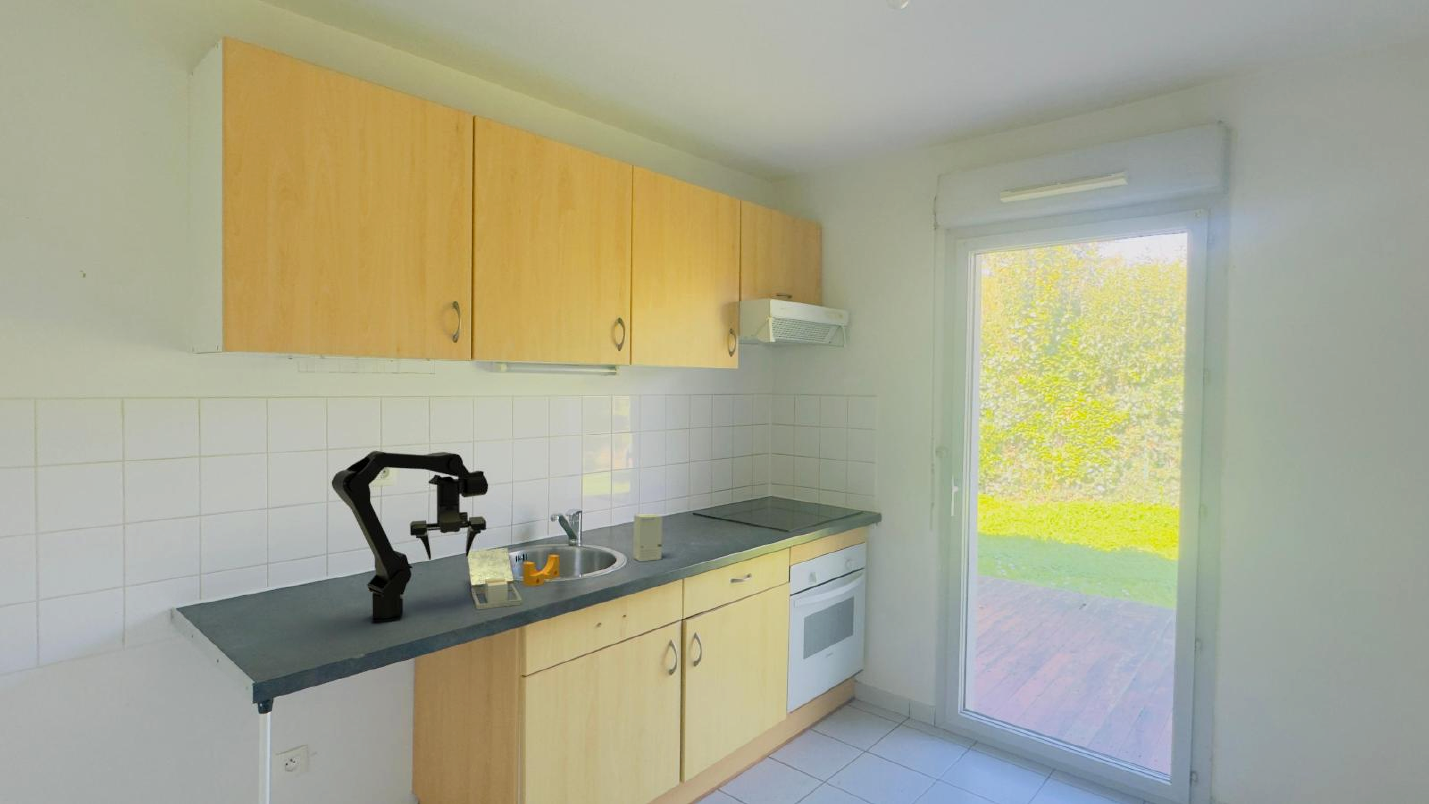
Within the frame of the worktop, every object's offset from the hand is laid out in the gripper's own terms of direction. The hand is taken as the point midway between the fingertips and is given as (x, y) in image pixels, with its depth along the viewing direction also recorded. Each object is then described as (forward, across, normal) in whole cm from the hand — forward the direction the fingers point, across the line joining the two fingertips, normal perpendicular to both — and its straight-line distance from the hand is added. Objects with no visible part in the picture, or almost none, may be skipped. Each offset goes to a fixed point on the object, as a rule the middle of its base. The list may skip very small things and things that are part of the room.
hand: (448, 557), depth 189 cm
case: (+12, +12, +4) cm, 18 cm away
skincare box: (+12, +64, +23) cm, 69 cm away
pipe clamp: (+12, +27, +11) cm, 32 cm away
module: (+12, +12, -2) cm, 17 cm away
